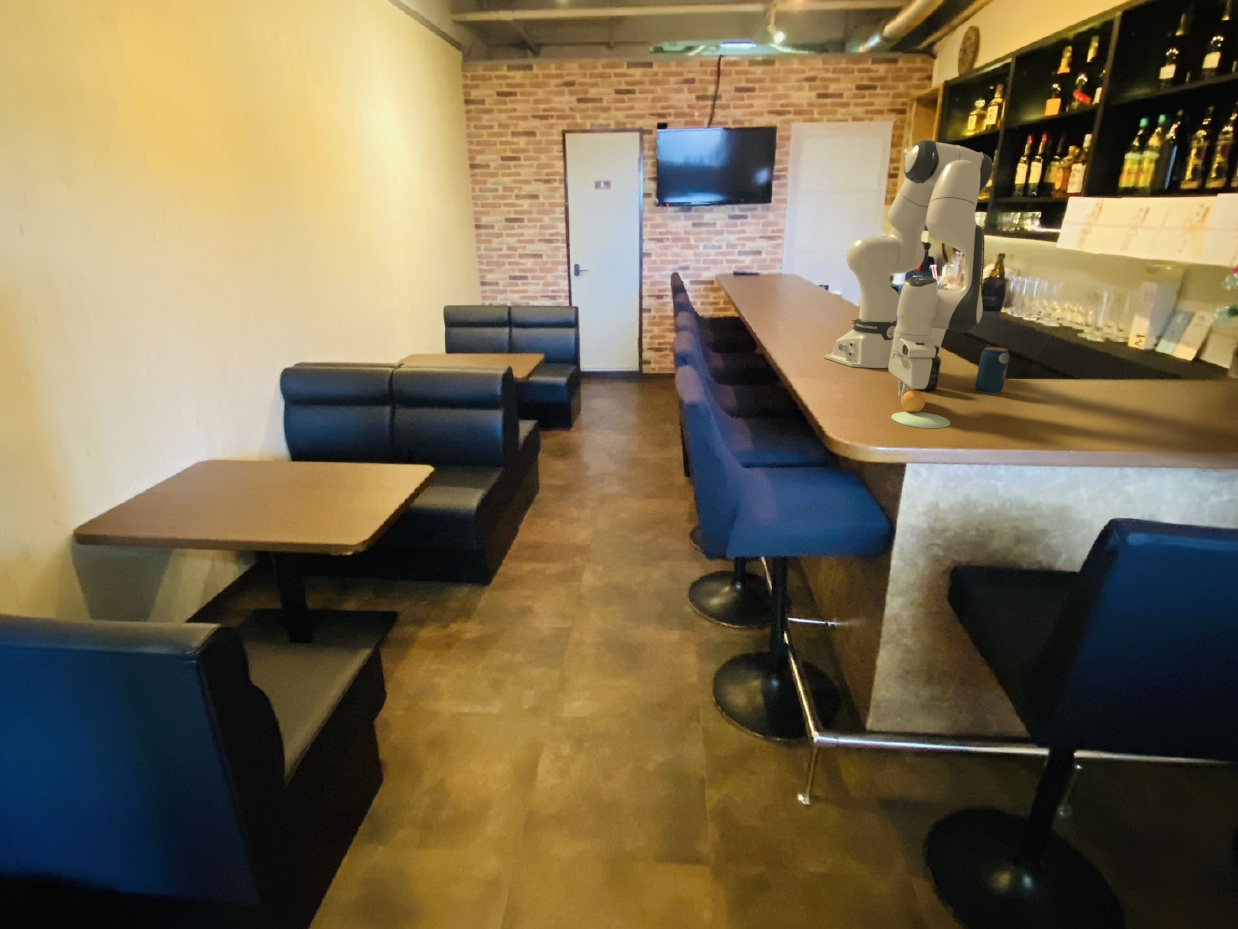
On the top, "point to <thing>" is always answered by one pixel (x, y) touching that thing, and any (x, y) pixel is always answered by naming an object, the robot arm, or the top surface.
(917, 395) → the ball
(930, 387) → the supplement bottle
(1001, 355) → the soda can
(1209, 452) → the top surface
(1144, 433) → the top surface
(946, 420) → the pale green disc
